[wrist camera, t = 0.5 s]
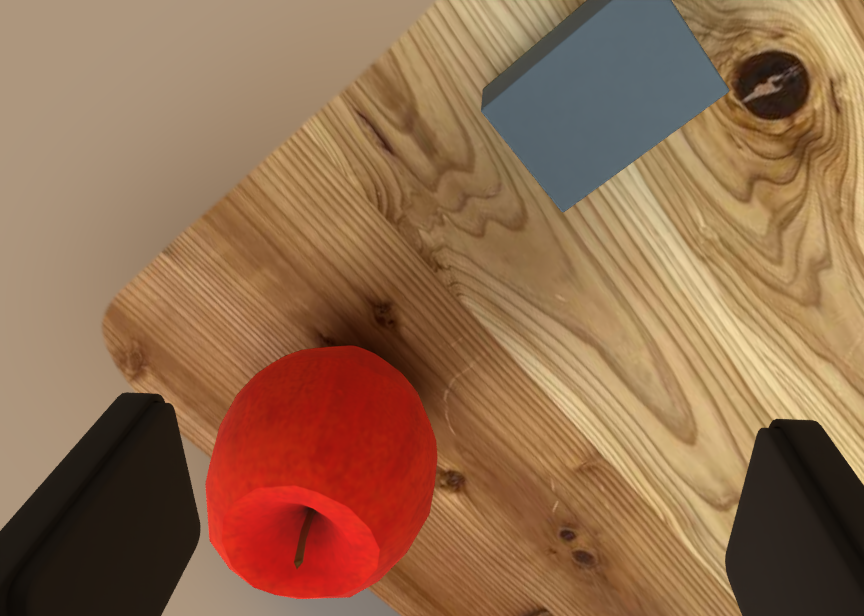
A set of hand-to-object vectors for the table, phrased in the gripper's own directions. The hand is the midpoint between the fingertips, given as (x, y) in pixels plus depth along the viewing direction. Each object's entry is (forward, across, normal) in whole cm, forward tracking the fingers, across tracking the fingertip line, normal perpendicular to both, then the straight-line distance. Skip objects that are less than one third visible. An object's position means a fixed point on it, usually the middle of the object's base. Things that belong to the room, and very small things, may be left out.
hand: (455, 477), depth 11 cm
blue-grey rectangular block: (+21, -4, -3) cm, 21 cm away
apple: (+21, +6, +12) cm, 25 cm away
